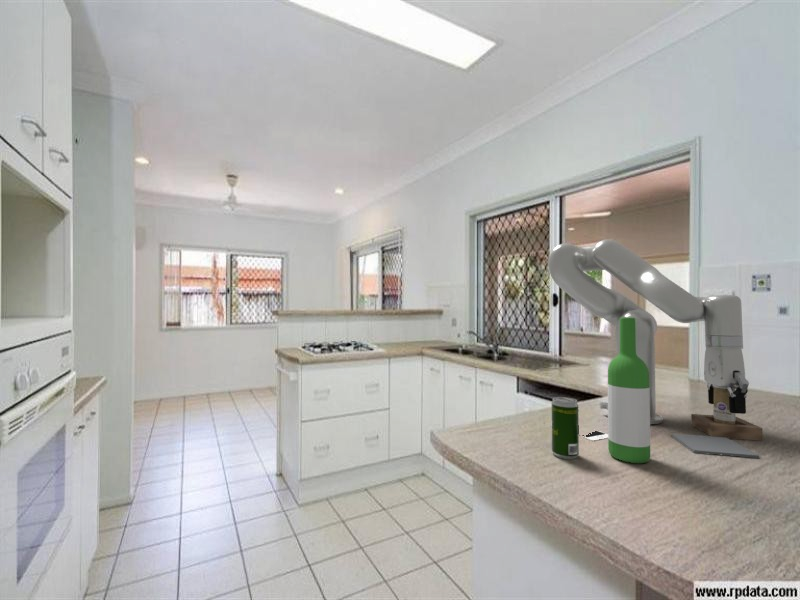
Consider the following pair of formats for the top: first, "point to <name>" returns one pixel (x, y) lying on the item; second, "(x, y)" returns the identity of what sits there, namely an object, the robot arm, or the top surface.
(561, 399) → the beer can
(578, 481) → the top surface
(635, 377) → the wine bottle
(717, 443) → the charcoal mat
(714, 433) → the walnut caddy
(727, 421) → the sprinkles bottle
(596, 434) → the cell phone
